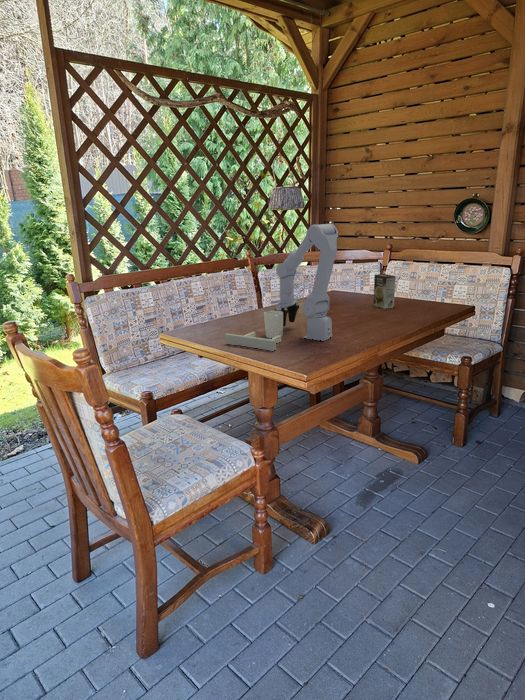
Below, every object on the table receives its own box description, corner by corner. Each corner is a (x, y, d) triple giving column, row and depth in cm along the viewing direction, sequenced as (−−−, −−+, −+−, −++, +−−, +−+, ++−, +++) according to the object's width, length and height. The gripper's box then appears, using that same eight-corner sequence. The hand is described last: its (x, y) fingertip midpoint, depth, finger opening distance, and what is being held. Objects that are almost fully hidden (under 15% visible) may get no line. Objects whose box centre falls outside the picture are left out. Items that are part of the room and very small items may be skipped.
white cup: (267, 340, 188) (266, 315, 185) (262, 335, 195) (261, 311, 192) (286, 338, 190) (285, 313, 187) (280, 333, 197) (279, 309, 194)
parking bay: (291, 343, 182) (290, 333, 181) (273, 351, 172) (273, 341, 171) (244, 336, 194) (243, 327, 192) (225, 344, 184) (225, 334, 182)
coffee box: (372, 306, 243) (373, 274, 239) (382, 304, 246) (384, 273, 241) (384, 309, 235) (385, 276, 231) (394, 307, 238) (396, 275, 233)
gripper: (287, 288, 204) (287, 319, 208) (269, 294, 192) (270, 326, 196) (301, 289, 200) (301, 321, 204) (284, 295, 189) (284, 328, 193)
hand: (287, 323), depth 200 cm, fingers open, 7 cm apart
